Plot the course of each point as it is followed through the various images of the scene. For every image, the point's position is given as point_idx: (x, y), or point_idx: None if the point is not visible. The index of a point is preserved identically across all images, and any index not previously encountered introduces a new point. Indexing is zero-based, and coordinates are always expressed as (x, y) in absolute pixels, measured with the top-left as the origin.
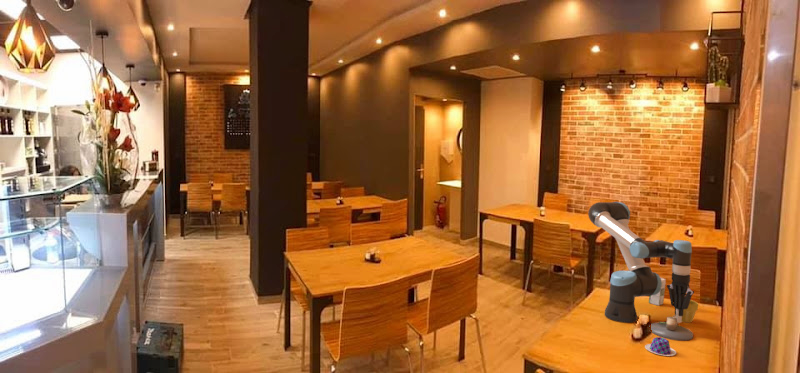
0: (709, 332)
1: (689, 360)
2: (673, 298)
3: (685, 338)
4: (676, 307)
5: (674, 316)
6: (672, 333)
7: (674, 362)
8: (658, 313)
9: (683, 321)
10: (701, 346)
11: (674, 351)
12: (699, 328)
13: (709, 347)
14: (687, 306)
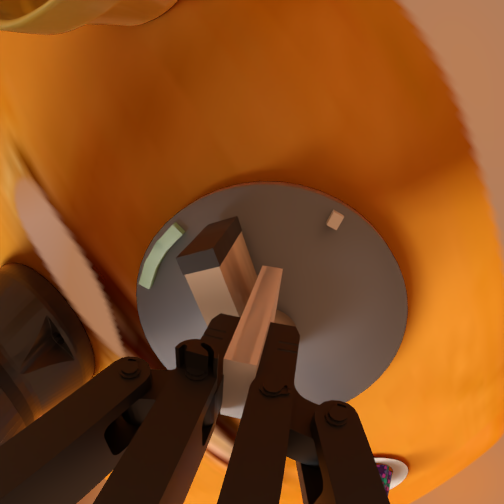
0: (395, 33)
1: (449, 459)
2: (91, 471)
3: (389, 357)
4: (214, 423)
5: (214, 314)
6: (312, 374)
7: (417, 488)
8: (21, 73)
9: (158, 16)
10: (469, 339)
11: (397, 462)
12: (306, 17)
13: (498, 313)
14: (362, 455)
